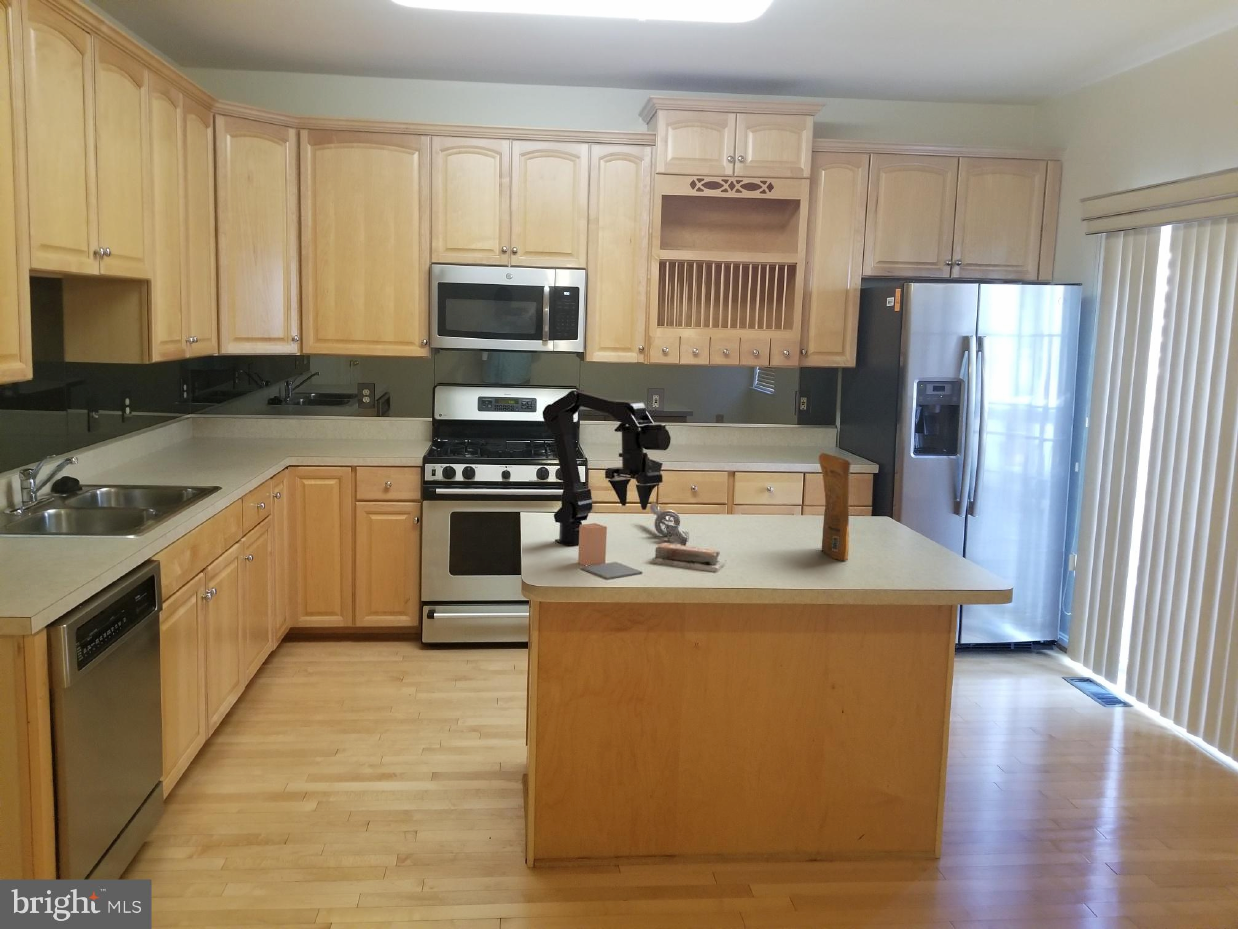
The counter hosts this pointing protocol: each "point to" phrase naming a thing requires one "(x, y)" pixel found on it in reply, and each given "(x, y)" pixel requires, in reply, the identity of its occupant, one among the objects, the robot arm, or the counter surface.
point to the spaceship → (669, 525)
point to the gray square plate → (611, 570)
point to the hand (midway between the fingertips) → (633, 507)
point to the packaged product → (688, 557)
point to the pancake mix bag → (835, 506)
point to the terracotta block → (592, 544)
